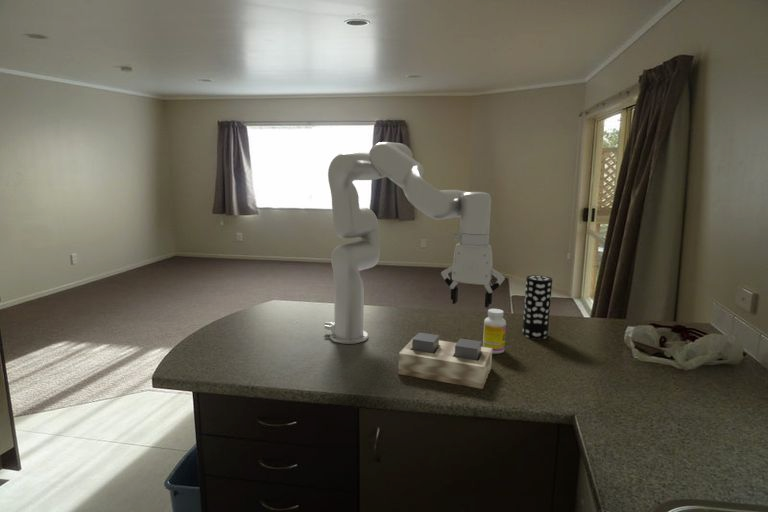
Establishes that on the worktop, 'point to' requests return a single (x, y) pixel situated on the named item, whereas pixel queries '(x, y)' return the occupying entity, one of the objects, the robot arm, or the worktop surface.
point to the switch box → (446, 365)
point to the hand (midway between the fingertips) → (470, 304)
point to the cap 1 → (425, 343)
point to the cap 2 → (468, 349)
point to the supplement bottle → (494, 331)
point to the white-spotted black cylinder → (537, 306)
